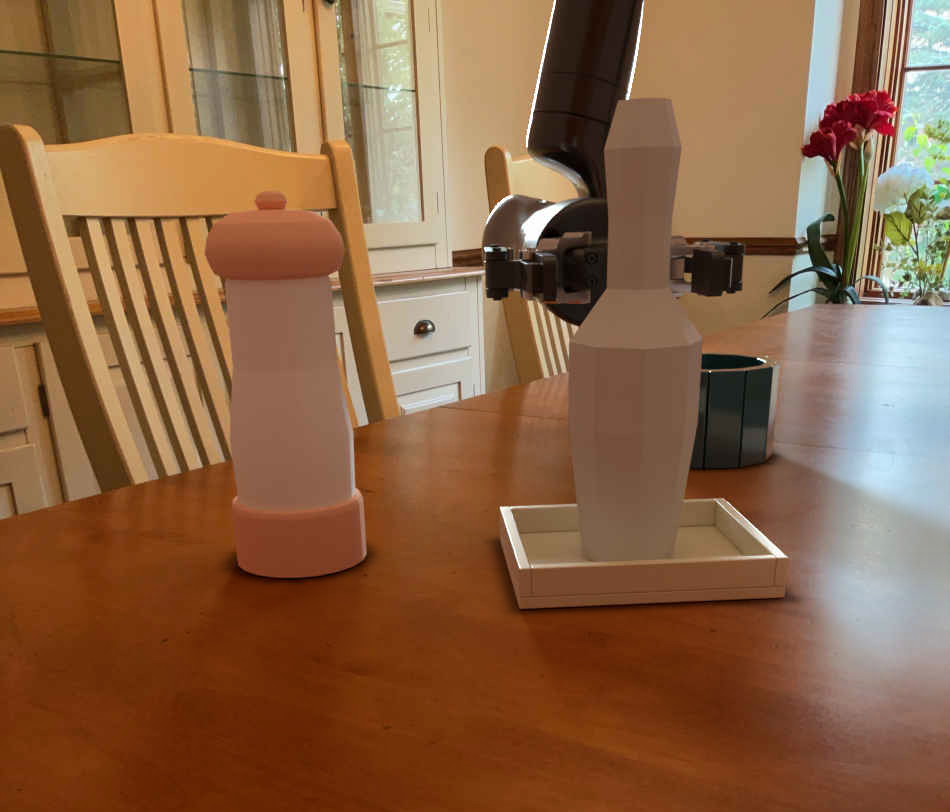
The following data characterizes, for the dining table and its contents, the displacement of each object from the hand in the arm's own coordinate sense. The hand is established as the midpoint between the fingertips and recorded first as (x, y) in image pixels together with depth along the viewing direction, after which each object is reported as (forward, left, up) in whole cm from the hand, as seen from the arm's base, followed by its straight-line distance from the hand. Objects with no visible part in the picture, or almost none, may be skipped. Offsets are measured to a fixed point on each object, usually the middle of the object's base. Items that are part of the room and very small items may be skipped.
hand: (634, 277), depth 52 cm
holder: (-11, -24, -15) cm, 30 cm away
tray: (0, +2, -15) cm, 15 cm away
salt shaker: (+18, -2, -15) cm, 24 cm away
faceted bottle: (0, +2, -14) cm, 15 cm away
